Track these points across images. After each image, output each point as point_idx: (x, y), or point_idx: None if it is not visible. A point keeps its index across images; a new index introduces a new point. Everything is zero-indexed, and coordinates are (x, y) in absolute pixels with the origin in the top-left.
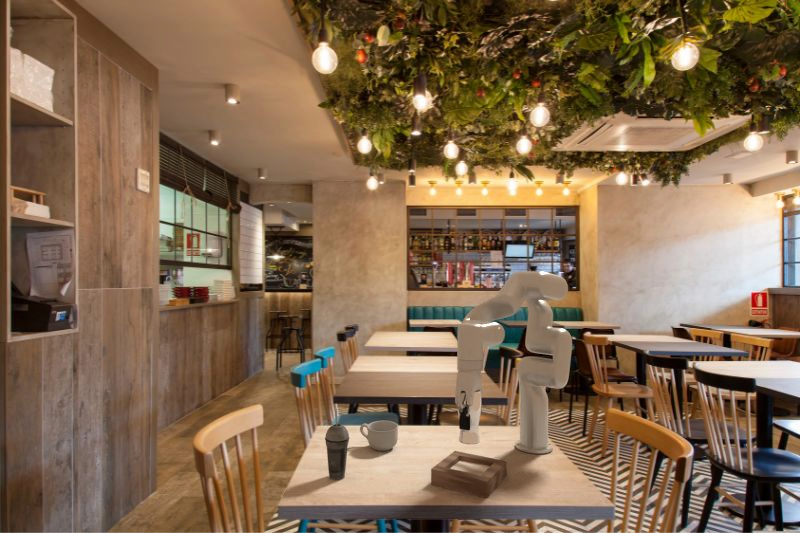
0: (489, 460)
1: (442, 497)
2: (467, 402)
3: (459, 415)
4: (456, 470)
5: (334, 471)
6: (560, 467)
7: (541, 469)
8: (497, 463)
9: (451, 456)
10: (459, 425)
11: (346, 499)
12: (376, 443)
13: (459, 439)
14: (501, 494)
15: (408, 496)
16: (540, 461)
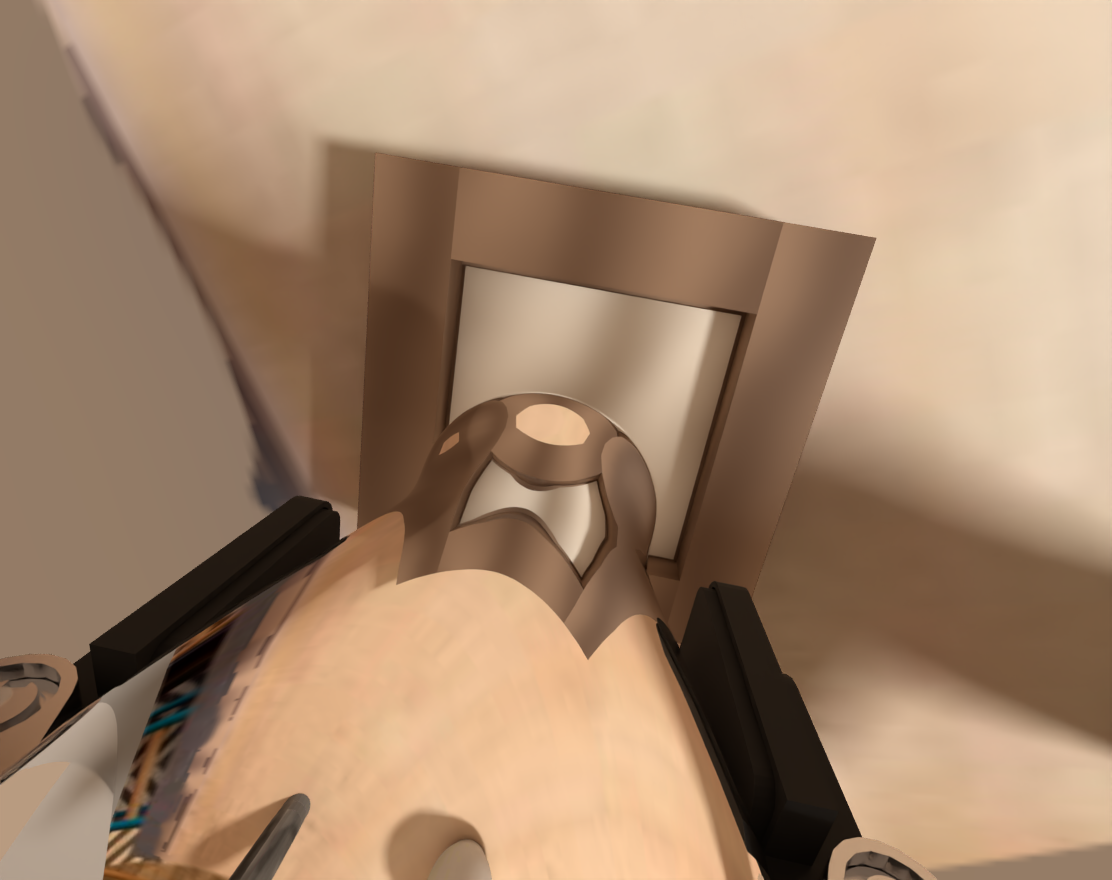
0: (709, 549)
1: (295, 301)
2: None
3: (99, 638)
4: (431, 360)
5: None
6: (920, 828)
7: (868, 748)
8: (665, 602)
9: (712, 245)
10: (274, 516)
11: None
12: None
13: (462, 417)
14: None
15: (202, 86)
16: (1005, 750)
